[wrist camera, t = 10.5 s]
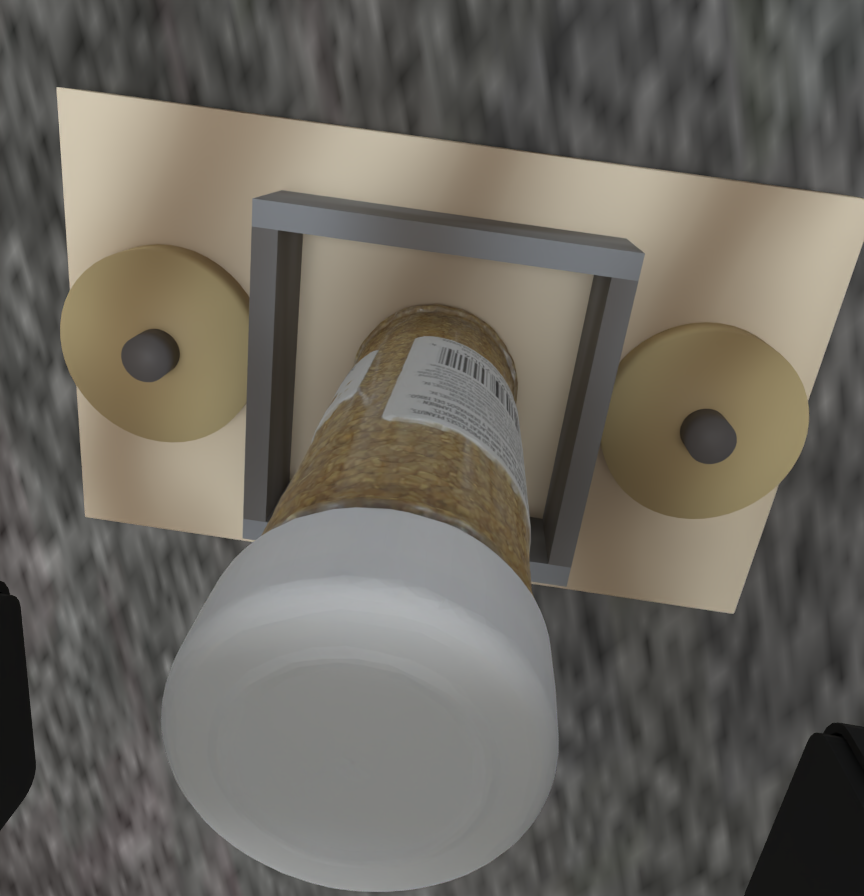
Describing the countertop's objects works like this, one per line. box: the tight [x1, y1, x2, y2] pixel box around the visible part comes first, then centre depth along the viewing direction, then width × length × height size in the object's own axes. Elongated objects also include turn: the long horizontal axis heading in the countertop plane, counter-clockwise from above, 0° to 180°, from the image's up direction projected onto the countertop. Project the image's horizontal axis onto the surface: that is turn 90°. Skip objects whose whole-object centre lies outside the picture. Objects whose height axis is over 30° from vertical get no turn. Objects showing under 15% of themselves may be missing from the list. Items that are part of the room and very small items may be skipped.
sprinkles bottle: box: [161, 304, 559, 892], centre depth 14 cm, size 5×5×13 cm
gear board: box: [57, 87, 864, 614], centre depth 20 cm, size 20×12×4 cm, turn 83°
